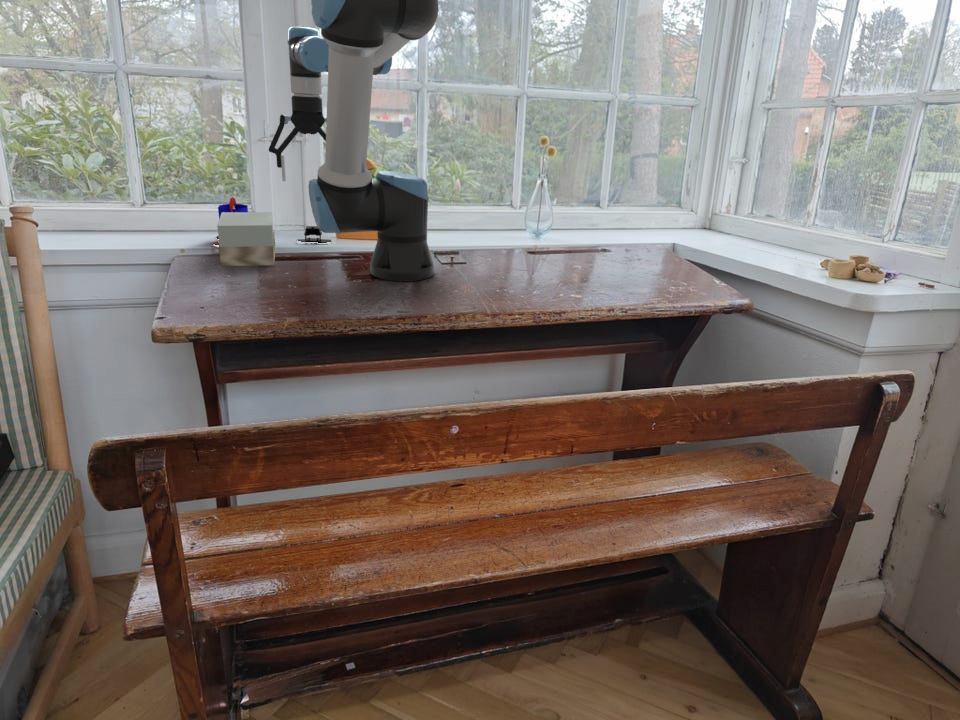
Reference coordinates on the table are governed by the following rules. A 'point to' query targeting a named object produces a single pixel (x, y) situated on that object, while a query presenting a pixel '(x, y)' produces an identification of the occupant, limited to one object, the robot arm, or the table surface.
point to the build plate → (313, 231)
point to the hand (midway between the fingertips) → (310, 181)
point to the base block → (247, 255)
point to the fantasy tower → (231, 209)
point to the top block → (245, 229)
